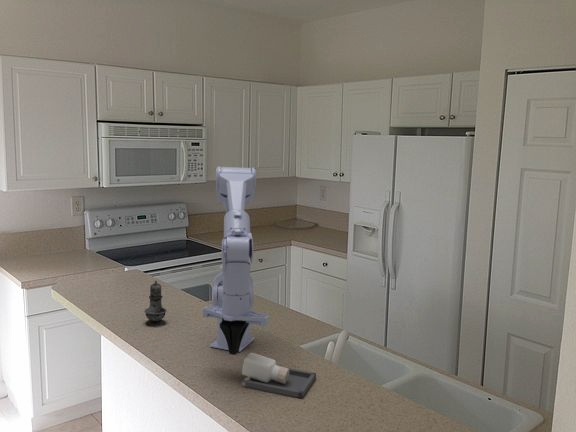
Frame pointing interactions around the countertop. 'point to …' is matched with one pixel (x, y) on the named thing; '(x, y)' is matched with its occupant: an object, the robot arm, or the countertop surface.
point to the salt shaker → (155, 307)
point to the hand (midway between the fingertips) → (234, 352)
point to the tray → (293, 386)
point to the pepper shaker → (264, 369)
